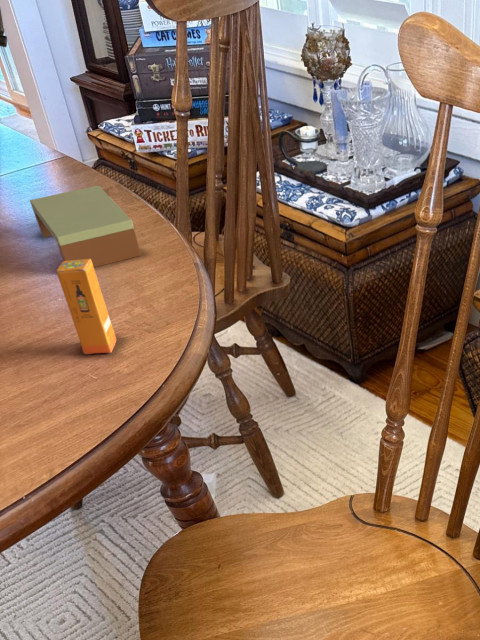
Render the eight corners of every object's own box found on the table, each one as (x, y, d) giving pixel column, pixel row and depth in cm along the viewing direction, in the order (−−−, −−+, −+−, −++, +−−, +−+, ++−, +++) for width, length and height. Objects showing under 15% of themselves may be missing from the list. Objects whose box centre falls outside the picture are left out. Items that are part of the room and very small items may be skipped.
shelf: (41, 234, 115) (29, 199, 112) (108, 218, 119) (98, 185, 116) (69, 273, 105) (56, 237, 102) (141, 255, 109) (131, 219, 106)
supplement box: (118, 339, 92) (93, 256, 85) (112, 354, 90) (85, 270, 83) (90, 340, 92) (62, 258, 85) (82, 355, 90) (54, 272, 83)
